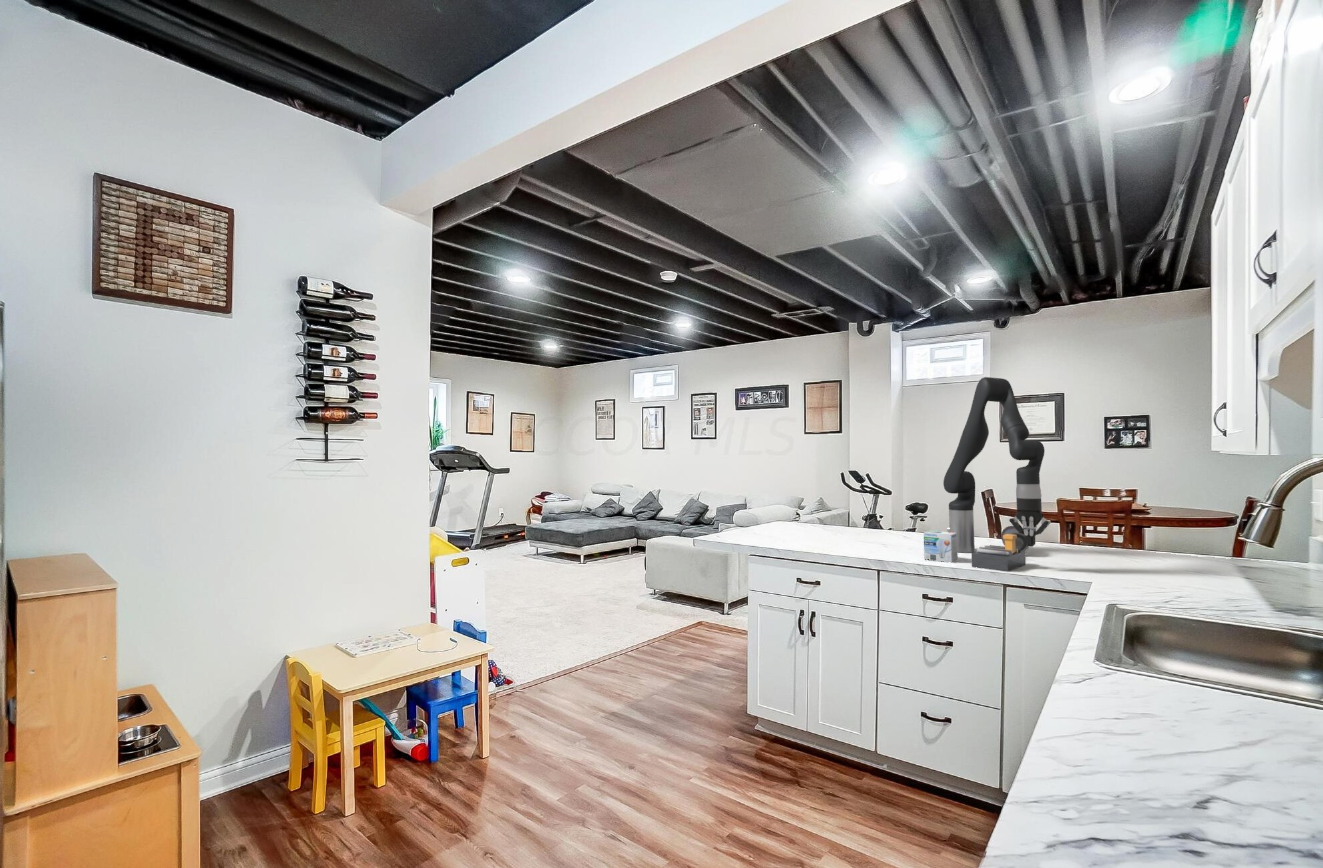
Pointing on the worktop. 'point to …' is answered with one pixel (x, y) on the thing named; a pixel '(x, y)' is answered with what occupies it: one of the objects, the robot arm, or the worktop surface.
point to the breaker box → (998, 559)
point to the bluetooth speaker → (1019, 540)
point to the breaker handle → (1010, 542)
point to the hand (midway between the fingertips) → (1030, 546)
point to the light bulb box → (940, 546)
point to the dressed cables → (995, 551)
